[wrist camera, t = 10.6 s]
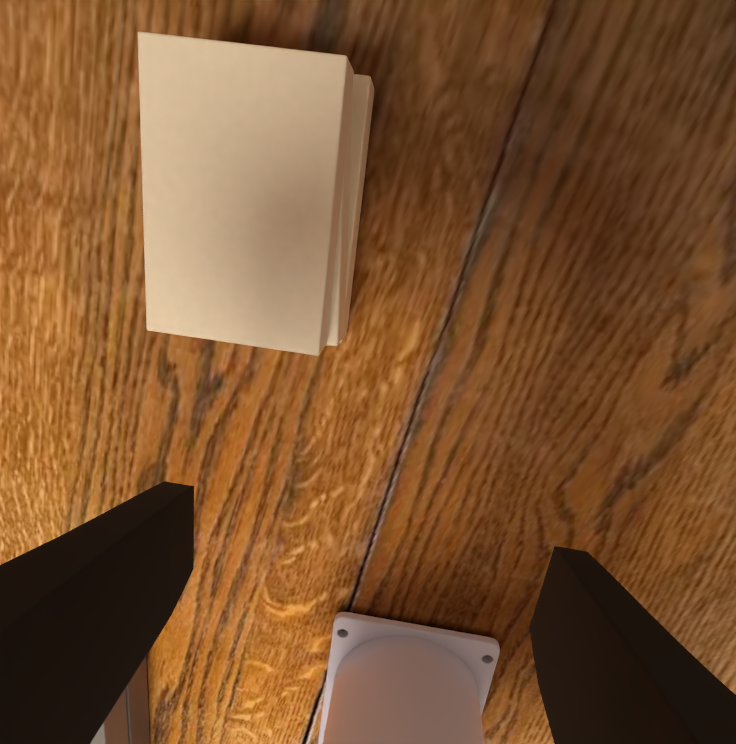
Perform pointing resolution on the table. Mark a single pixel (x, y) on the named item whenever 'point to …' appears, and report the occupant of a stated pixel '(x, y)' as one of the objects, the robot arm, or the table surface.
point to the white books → (350, 206)
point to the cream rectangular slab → (241, 188)
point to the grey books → (128, 714)
